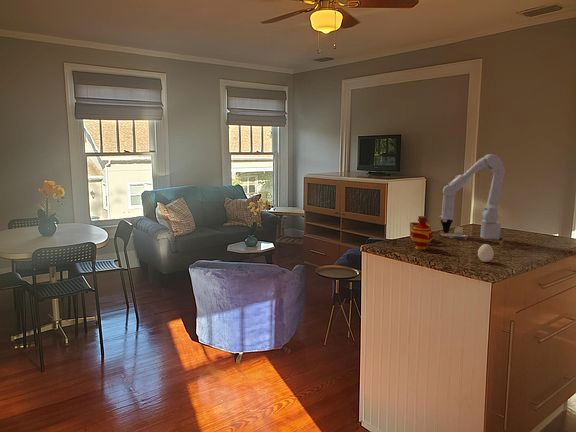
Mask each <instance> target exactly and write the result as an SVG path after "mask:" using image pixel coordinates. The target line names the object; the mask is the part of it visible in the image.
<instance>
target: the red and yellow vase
mask: <svg viewBox="0 0 576 432" xmlns="http://www.w3.org/2000/svg"><path fill="white" fill-rule="evenodd" d="M417 218H418V219H417V222H418V223H419V224H418V225H417V226H415V227H413V228H412V229H411V230H410V229H409V236H410V239H411V241H412V242H413V243H414V245H416V246H415V247H414V249H416V250H426V249H427V246H428V245H429V244H430V243H431V242H432V240H433V238H434V237H433V230H432V229H431V226H430V227H429V226H427V225H426V224H425V223H427V222H428V216H423V215H422V216H417ZM410 231H411V233H410Z"/></svg>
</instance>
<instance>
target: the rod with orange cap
mask: <svg viewBox="0 0 576 432" xmlns="http://www.w3.org/2000/svg"><path fill="white" fill-rule="evenodd" d="M439 235H450V236H459V237H467V238H468V237H469V235H468V234H463V233H462V234H454V233H450V232H448V233H444V231H443V230H440V231H439ZM450 236H449V237H450Z"/></svg>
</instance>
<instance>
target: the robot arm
mask: <svg viewBox="0 0 576 432" xmlns="http://www.w3.org/2000/svg"><path fill="white" fill-rule="evenodd" d="M486 168H488V169H490V171H491V172H492V173H493V175H492V178H491V179H492V180H491V184H490V189H489V191H488V197H487V200H486V204H485V206H484V209H483V210H482V211H481V215H480V216H481V218H482V220H481V224H480V238H482V239H486V240H499V241H500V238H501V227H502V226H501V225H502V223H499V222H498V219H499V214H498V211H499V207H498V204H499V200H500V195H501V191H502V187H503V182H504V177H505V174H506V170H505V166H504V165H503V161H502V158H501V157H500V156H499V155H497V154H493V153H488V154H485V155H484V156H483V157H480V158H479V159H478V160H477V161H475V162H474V164H473V165H472V166H471V167H469V168H468V170H466V171H465V172H464V173H463V174H458V175H455V176H454V179H453V180H451V181H450V182H448V183H447V184H448V185H445V186H444V187H443V188H442V194H443V196H442V201H441V202H442V206H441V215H439V216H438V217H439V218H441V220H440V223H441V225H442V231H444V233H450V228H451V226H452V224H453V219H454V208H455V206H454V205H455V195H457V192H458V191H459V190H460V189H462V188H463V187H465V185H467V183H468V179H469V178H471V177H472V176H473V175H475V174H476V173H477V172H478V171H479V170H481V169H486Z"/></svg>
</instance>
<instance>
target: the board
mask: <svg viewBox="0 0 576 432" xmlns="http://www.w3.org/2000/svg"><path fill="white" fill-rule="evenodd" d="M448 239H455V240H458V239H457V238H452V236H448ZM460 240H463V241H466V240H467V241H468V237H464V238H463V239H460Z"/></svg>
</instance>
